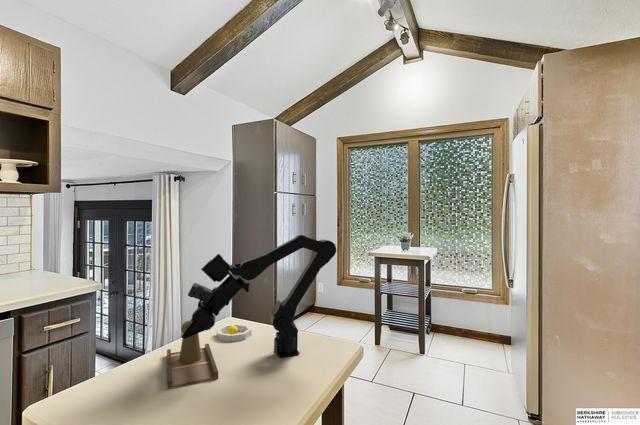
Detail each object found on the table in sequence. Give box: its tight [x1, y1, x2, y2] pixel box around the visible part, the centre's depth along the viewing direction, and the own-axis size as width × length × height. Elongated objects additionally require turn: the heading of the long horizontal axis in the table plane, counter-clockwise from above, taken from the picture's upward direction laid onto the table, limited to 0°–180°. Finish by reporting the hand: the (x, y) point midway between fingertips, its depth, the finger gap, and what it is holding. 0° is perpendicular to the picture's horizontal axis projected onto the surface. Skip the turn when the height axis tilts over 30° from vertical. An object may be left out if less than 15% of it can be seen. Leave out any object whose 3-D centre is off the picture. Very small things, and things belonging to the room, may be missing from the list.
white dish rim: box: [216, 323, 253, 343], centre depth 114 cm, size 12×12×2 cm
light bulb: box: [224, 326, 238, 334], centre depth 113 cm, size 3×6×4 cm, turn 118°
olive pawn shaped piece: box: [179, 319, 201, 364], centre depth 92 cm, size 6×6×11 cm
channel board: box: [166, 343, 219, 390], centre depth 89 cm, size 12×21×2 cm, turn 26°
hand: (185, 331), depth 92 cm, fingers open, 9 cm apart
